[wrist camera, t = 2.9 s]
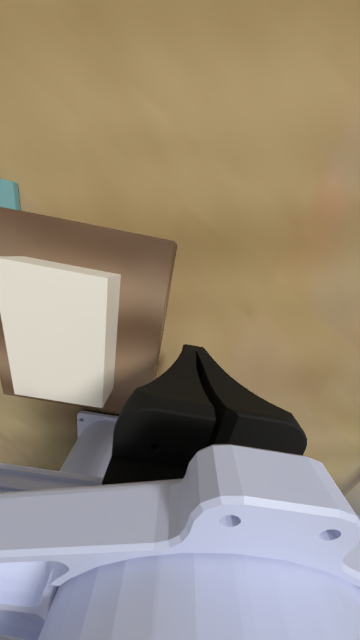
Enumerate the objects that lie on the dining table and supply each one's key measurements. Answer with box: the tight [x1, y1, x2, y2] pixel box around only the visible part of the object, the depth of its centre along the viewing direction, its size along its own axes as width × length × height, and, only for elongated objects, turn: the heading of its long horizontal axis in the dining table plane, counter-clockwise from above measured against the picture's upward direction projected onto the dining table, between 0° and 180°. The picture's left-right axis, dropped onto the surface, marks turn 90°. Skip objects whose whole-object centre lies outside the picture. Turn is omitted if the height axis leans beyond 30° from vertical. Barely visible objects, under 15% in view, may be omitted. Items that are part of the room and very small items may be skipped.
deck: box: [0, 207, 177, 413], centre depth 14 cm, size 14×12×4 cm
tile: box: [0, 256, 121, 408], centre depth 12 cm, size 9×6×2 cm, turn 170°
